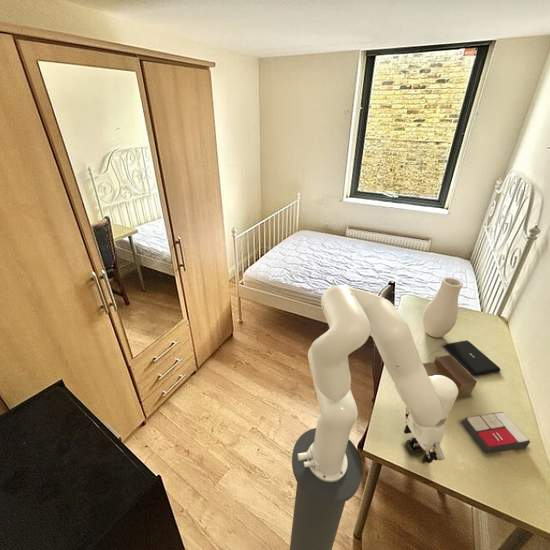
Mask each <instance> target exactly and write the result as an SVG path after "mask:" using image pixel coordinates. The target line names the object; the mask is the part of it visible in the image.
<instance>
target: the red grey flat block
mask: <svg viewBox="0 0 550 550" xmlns="http://www.w3.org/2000/svg"><path fill="white" fill-rule="evenodd" d="M462 425H463V426H464V427H465V429H466V430H467V432H469V434H470V436H471V437H472V438H473V440H474V441H475V442H476V444H477V445H478V446H479V448H480V449H481V450H482V452H483V454H485V455H489V454H494V453H495V454H496V453H501V452H506V451H512V450H513V451H515V450H516V451H518V450H524V449H527V448H528V446H529V445H530V443H531V440H529V438H528V437H527V436H526V435H525V434H524V433H523V431H522V430H521V429H520V428H519V427H518V425H516V424H515V423H514V422H513V421H512V420H511V418H510V417H509V416H508V415H507V414H506V413H505V412H504V411H500V412H498V411H497V412H492V413H487V414H486V413H485V414H480V415H474V416H473V415H472V416H466V417H464V419H463V421H462Z"/></svg>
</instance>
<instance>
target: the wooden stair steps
mask: <svg viewBox="0 0 550 550" xmlns="http://www.w3.org/2000/svg"><path fill="white" fill-rule="evenodd" d="M422 363H423V362H422ZM423 366H424V368H425V370H426V372H427V374H428V376H434V375H442V376H445V377H447V378H449V379H451V380H452V381H453V382H454V383H455V384H456V386H457V388H458V395H457V398H456V400H457V399H461V398H467V397H470V396H471V395H472V393H473V391H474V390H475V387H476V385H477V384H478V381H477V380H476V379H475V378H474V377H473V375H472V374H471V373H470V372H469V371H468V370H467V369H466V368H465V367H464V366H463V365H462V364H461V363H460V362H459V361H458V360H457V359H456V358H455V357H454V356H453V355H452V354H448V355H442V356H436V357H435V358H434V360H433V361H429V362H424V363H423Z"/></svg>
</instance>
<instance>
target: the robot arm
mask: <svg viewBox="0 0 550 550" xmlns="http://www.w3.org/2000/svg"><path fill="white" fill-rule="evenodd" d="M320 307H321V310H322V312H323V315H324V318H325V320H326V322H327V325H328V329H327V331H325V332H324V333H323V334H320V336H319V337H316V338H315V340H314V341H312V343H311V345H310V347H309V349H308V352H307V360H308V364H309V369H310V374H311V379H312V382H313V387H314V390H315V393H316V396H317V399H316V400H317V403H318V406H319V412H320V415H319V416H318V418H317V421H316V425H315V428H316V433H315V440H314V443H313V444H312V445H311V446H310V448H309V450H308V451H307V452H305V453H299V454H298V460H299V461H301V460H304V459H307V462H304V467H309V468H310V470H311V471H312V473H313V474H314V475H315V476H316V477H317V478H319V479H320V480H323V481H326V482H335V481H338V480H340V479H341V478H342V477H343V476H344V475H345V473H346V470H347V465H348V462H347V457H346V454H345V452H346V448H347V444H348V439H349V440H350V435H351V431H352V429H353V427H354V425H355V424H356V422H357V420H358V418H359V417H358V416H359V413H358V407H357V403H356V401H355V397H354V395H353V393H352V390H351V387H352V386H351V385H352V378H351V377H352V376H351V371H350V365H349V355H350V354H352V353H353V352H355V351H356V350H358V349H360V348H361V347H362V346H364V344H365V343H366V342H367V341H368V340H369V337H370V336H371V338H372V340H373V342H374V344H375V346H376V349H377V351H378V353H379V355H380V357H381V360H382V362H383V364H384V367H385V369H386V371H387V373H388V375H389V377H390V378H391V380H392V382H393V383H394V387H395V390H396V391H397V392H396V393H398V395H399V397H400V399H401V401H402V402H403V404H404V406H405V419H406V420H405V424H406V425H405V428H404V430H403V434H405V435H408V434H412V435H413V438H416V440H417V441H418V443H419V444H420V446H421V447H422V448H423V449H424V450H425V451H426V452H425V453H424V455H423V457H422V459H421V463H422V464H426V463H427V464H431V463H433V461H445V460H446V458H445V456H444V452H443V450H442V448H441V444H442V442H443V438H444V436H445V430H446V424H445V422H446V421H447V418H448V417H449V414H450V412H451V410H452V408H453V406H454V404H455V402H456V400H457V399H458V398H457V395H458V388H457V386H456V384H455V383H454V382H453V381H452V380H451V379H449V378H447V377H445V376H442V375H434V376H428V374H427V372H426V370H425V368H424V366H423V362H422V360H421V359H422V358H421V357H420V354H419V351H418V348H417V345H416V343H415V340H414V336H413V334H412V330H411V329H410V326H409V324H408V322H407V321H406V319H405V318H404V317H403V315H402V314H401V313H400V312H399V310H398V309H397V308H396V306H395V305H394V304H393V302H392V301H390V300H389V299H387V298H385V297H383V296H379V295H377V294H374V293H371V292H369V291H364V290H362V289H358V288H355V287H351V286H348V285H343V284H338V285H337V284H336V285H332V286H330V287H328V288H327V289H325V290H324V291H323V293H322V295H321V298H320ZM456 398H457V399H456ZM431 450H432V451H431ZM323 477H324V478H323Z"/></svg>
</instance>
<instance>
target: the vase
mask: <svg viewBox="0 0 550 550" xmlns="http://www.w3.org/2000/svg"><path fill="white" fill-rule="evenodd" d="M463 286H464V284H463V281H461V280H459V279H457V278H455V277H451V276H450V277H443V278H442V279H441V283H440V286H439V287H438V290H437V292H436V293H435V294H434V296H433V297H432V298H431V300H430V301H429V303H427V305H426V307H425V308H424V311H423V314H422V327H423V329H424V331H425V333H426V334H427V335H429V336H430V337H433V338H442V337H445V336H446V335H447V334H449V333H450V332H451V331H452V329H453V328H454V327H455V325H456V323H457V320H458V315H459V314H458V313H459V310H458V309H459V296H460V292H461V289H462V288H463Z"/></svg>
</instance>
